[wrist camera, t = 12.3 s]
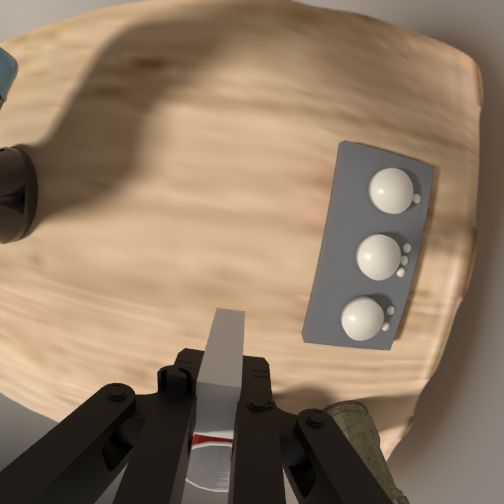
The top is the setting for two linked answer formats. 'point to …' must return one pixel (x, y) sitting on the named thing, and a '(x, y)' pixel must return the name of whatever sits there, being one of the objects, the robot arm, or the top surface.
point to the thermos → (366, 443)
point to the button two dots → (361, 318)
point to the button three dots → (378, 256)
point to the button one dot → (390, 190)
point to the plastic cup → (210, 463)
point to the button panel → (348, 238)
